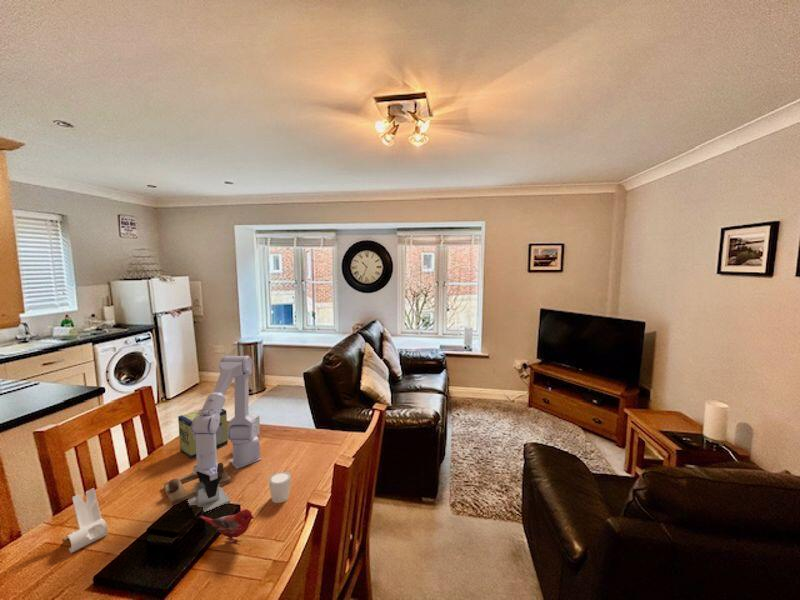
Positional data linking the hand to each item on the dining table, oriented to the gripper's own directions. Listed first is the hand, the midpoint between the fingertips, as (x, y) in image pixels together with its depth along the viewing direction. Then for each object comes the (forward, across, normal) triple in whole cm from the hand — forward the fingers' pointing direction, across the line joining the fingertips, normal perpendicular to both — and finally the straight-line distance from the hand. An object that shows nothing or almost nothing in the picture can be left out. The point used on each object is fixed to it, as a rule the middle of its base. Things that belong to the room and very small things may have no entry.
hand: (208, 491), depth 110 cm
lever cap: (+3, 0, 0) cm, 3 cm away
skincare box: (+4, -29, +25) cm, 39 cm away
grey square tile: (+4, 0, 0) cm, 4 cm away
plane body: (+4, -13, 0) cm, 14 cm away
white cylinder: (+4, +14, +18) cm, 23 cm away
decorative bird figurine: (+4, +21, -1) cm, 21 cm away
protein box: (+4, -40, +9) cm, 41 cm away
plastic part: (+4, -8, -30) cm, 31 cm away
